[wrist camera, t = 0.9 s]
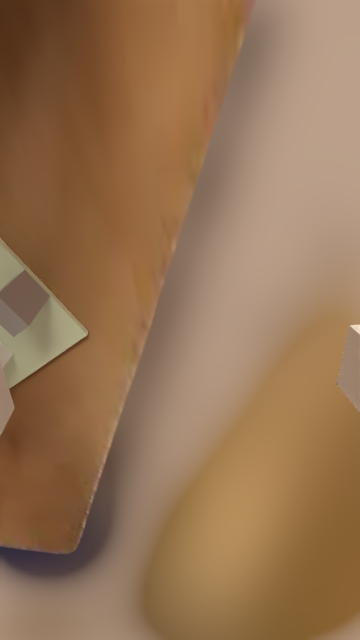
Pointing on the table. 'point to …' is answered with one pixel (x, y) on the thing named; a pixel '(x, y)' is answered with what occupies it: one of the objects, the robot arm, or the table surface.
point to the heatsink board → (40, 329)
